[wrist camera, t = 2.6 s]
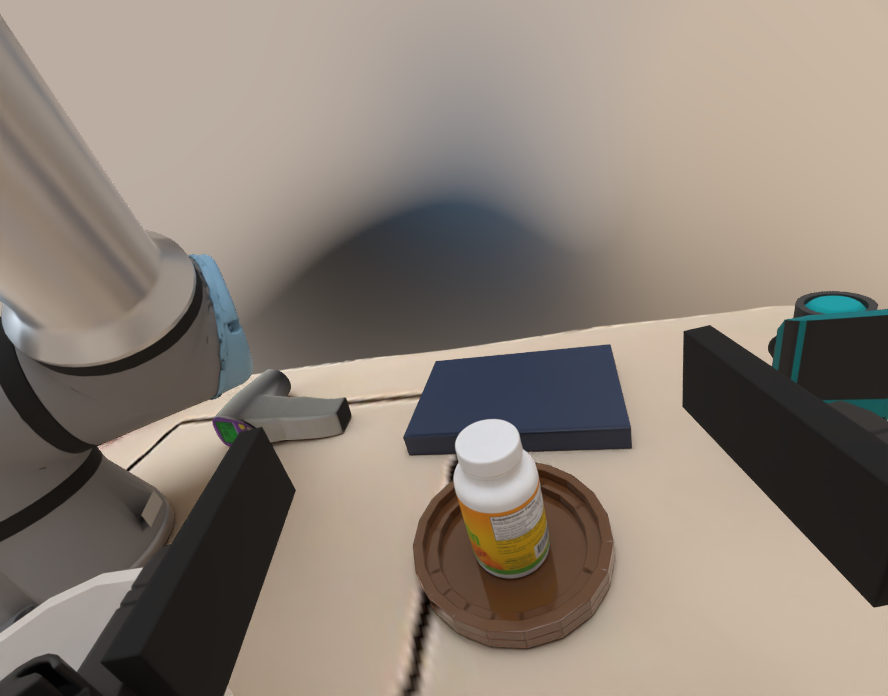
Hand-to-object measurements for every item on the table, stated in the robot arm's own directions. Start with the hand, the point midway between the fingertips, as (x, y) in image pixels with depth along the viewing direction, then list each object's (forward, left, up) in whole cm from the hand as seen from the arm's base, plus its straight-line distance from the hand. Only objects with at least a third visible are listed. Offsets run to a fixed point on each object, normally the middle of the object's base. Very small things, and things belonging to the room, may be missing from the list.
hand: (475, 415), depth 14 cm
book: (-10, +24, -19) cm, 32 cm away
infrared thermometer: (-36, +18, -19) cm, 45 cm away
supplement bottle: (-5, +8, -19) cm, 21 cm away
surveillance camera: (+13, +25, -19) cm, 34 cm away
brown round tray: (-5, +8, -19) cm, 21 cm away
